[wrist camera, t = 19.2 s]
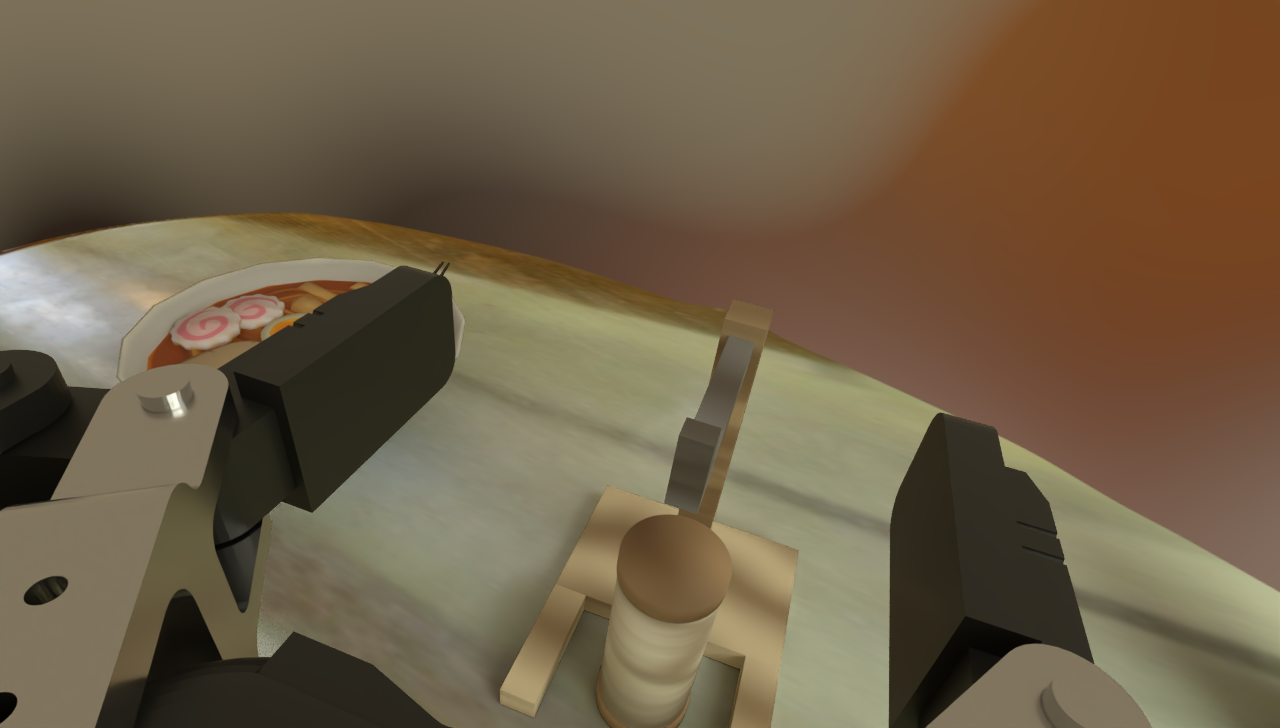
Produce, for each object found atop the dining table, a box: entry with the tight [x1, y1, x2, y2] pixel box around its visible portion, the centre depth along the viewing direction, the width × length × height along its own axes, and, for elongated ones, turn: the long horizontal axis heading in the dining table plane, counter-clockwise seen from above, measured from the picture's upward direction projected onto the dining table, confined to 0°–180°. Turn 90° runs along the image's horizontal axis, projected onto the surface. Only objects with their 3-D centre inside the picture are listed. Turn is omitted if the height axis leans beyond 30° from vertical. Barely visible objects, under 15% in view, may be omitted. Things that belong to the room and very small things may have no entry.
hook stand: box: [500, 299, 798, 728], centre depth 33 cm, size 16×14×22 cm
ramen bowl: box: [117, 257, 466, 382], centre depth 49 cm, size 25×23×8 cm
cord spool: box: [596, 514, 732, 728], centre depth 33 cm, size 5×5×12 cm
